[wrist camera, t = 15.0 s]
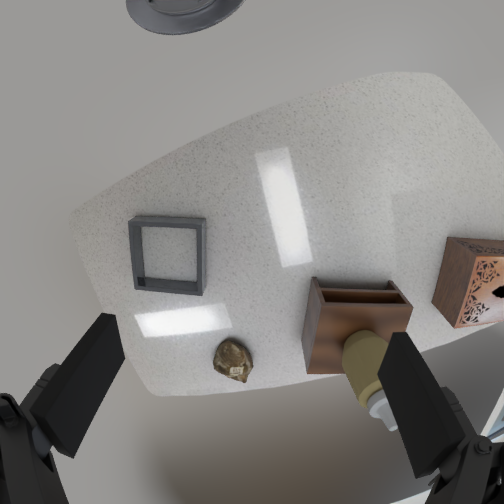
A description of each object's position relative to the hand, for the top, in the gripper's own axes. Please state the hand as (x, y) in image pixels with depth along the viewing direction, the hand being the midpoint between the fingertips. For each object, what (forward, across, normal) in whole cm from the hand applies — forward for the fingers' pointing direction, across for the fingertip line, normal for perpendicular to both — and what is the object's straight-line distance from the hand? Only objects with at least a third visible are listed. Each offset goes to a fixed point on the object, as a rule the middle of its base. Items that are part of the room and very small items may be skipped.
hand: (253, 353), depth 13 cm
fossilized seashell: (+37, -3, -32) cm, 49 cm away
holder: (+37, -15, -10) cm, 41 cm away
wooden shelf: (+37, +18, -20) cm, 46 cm away
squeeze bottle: (+27, +18, -20) cm, 38 cm away
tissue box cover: (+37, +50, -10) cm, 63 cm away
